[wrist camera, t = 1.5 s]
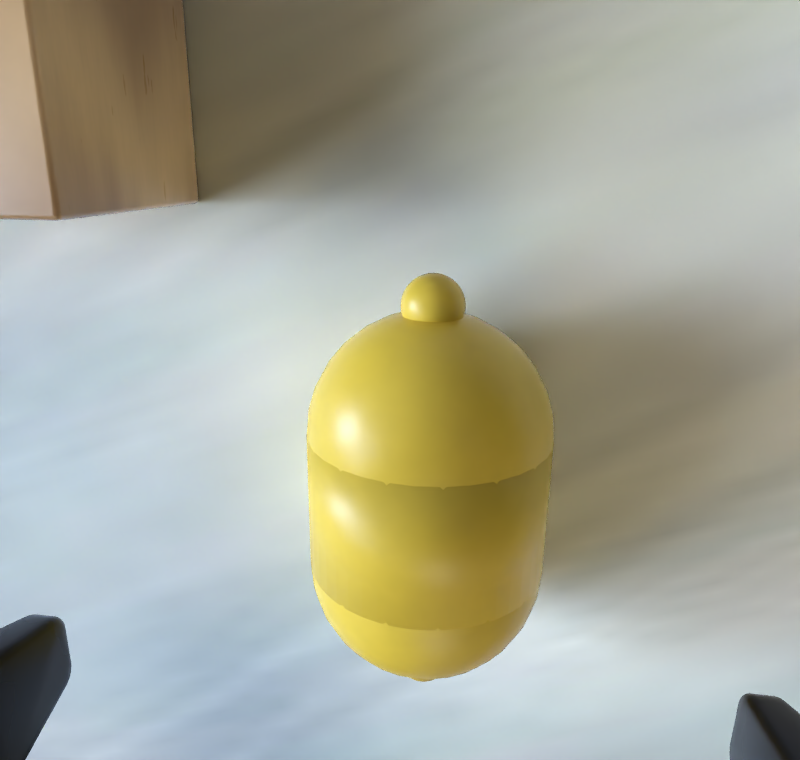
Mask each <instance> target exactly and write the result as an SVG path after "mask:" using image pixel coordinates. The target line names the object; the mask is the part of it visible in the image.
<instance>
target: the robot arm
mask: <svg viewBox="0 0 800 760" xmlns="http://www.w3.org/2000/svg"><path fill="white" fill-rule="evenodd" d="M70 673H71V660H70V654H69V648H68V642H67V636H66V630H65V625H64V623H63V621H62V620H61V619H60V618H58V617H55V616H46V615H29V616H27V617H24V618H22V619H20V620H18V621H16V622H14V623H11V624H9V625H7V626H5V627H3V628H0V760H25V759H26V757H27V756H28V754H29V752H30V750H31V748H32V747H33V745H34V743H35V741H36V739H37V738H38V736H39V734H40V732H41V730H42V728H43V727H44V725H45V723H46V721H47V719H48V718H49V716H50V714H51V712H52V710H53V709H54V707H55V705H56V703H57V701H58V699H59V698H60V696H61V694H62V692H63V690H64V689H65V687H66V685H67V683H68V680H69V677H70ZM730 760H800V714H799V713H798V712H797V711H796V710H794V709H793V708H792V707H791V706H790V705H789V704H787V703H786V702H785V701H784V700H782V699H781V698H779V697H775V696H768V695H759V694H750V693H748V694H745V695H743V696H742V697H741V699H740V701H739V704H738V709H737V714H736V719H735V723H734V728H733V733H732V738H731V743H730Z"/></svg>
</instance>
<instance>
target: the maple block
mask: <svg viewBox="0 0 800 760" xmlns="http://www.w3.org/2000/svg"><path fill="white" fill-rule="evenodd" d="M197 202H198V188H197V176H196V163H195V150H194V138H193V125H192V113H191V100H190V87H189V75H188V62H187V49H186V37H185V24H184V11H183V0H0V219H18V220H55V221H58V220H66V219H74V218H82V217H90V216H98V215H106V214H114V213H122V212H130V211H138V210H146V209H154V208H162V207H170V206H178V205H186V204H194V203H197Z"/></svg>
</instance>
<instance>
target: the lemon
mask: <svg viewBox="0 0 800 760" xmlns="http://www.w3.org/2000/svg"><path fill="white" fill-rule="evenodd" d="M553 449H554V427H553V413H552V409H551V404H550V400H549V396H548V393H547V390H546V388H545V386H544V384H543V382H542V380H541V378H540V376H539V374H538V371H537V369H536V367H535V366H534V364H533V363H532V362H531V360H530V359H529V358H528V356H527V355H526V354H525V353H524V351H523V350H522V349H521V347H519V346H518V345H517V344H516V343H515V342H514V341H512V340H511V339H510V338H509V337H508V336H506V335H505V334H504V333H503V332H502V331H500V330H499V329H498V328H496V327H494V326H492V325H490V324H488V323H486V322H484V321H483V320H481V319H479V318H477V317H474V316H471V315H468V314H465V297H464V294H463V292H462V290H461V288H460V286H459V285H458V284H457V283H456V282H455V281H454V280H453V279H451V278H450V277H448V276H445V275H443V274H439V273H428V274H424V275H421V276H419V277H417V278H416V279H414V280H413V281H412V282H410V284H409V285H408V286H407V287H406V289H405V291H404V293H403V296H402V299H401V312H400V313H395V314H392V315H389V316H387V317H385V318H382V319H380V320H378V321H376V322H374V323H372V324H370V325H367V326H366V327H364V328H363V329H362V330H361V331H359V332H358V333H357V334H355V335H354V336H353V337H352V338H350V339H349V340H348V341H346V342H345V343H344V344H343V345H342V346H341V347H340V349H339V350H338V351H337V352H336V353H335V355H334V356H333V357H332V358H331V359H330V360H329V362H328V364H327V366H326V368H325V370H324V372H323V373H322V375H321V377H320V379H319V381H318V383H317V385H316V386H315V389H314V393H313V396H312V400H311V403H310V407H309V412H308V426H307V460H308V489H309V519H310V549H311V567H312V574H313V581H314V588H315V591H316V593H317V596H318V599H319V601H320V604H321V606H322V609H323V611H324V613H325V616H326V618H327V620H328V621H329V623H330V624H331V625H332V627H333V628H334V629H335V631H336V632H337V633H338V635H339V636H340V637H341V639H342V640H343V641H344V643H345V644H346V645H347V646H348V647H349V648H351V649H352V650H353V651H354V652H355V653H357V654H358V655H359V656H361V657H362V658H364V659H365V660H367V661H368V662H370V663H371V664H373V665H375V666H377V667H378V668H380V669H382V670H385V671H387V672H390V673H393V674H396V675H399V676H405V677H410V678H412V679H414V680H416V681H422V682H425V681H431V680H434V679H438V678H448V677H452V676H456V675H460V674H463V673H466V672H468V671H470V670H472V669H475V668H477V667H479V666H481V665H482V664H484V663H486V662H488V661H489V660H491V659H492V658H494V657H495V656H496V655H498V654H499V653H501V652H502V651H503V650H504V649H505V647H506V646H507V645H508V644H509V643H510V642H511V641H512V640H513V638H514V637H515V636H516V635H517V634H518V633H519V631H520V630H521V629H522V628H523V626H524V624H525V622H526V620H527V618H528V616H529V614H530V612H531V610H532V608H533V605H534V603H535V601H536V599H537V595H538V590H539V586H540V581H541V576H542V568H543V557H544V547H545V536H546V525H547V514H548V503H549V492H550V481H551V471H552V460H553Z"/></svg>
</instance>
